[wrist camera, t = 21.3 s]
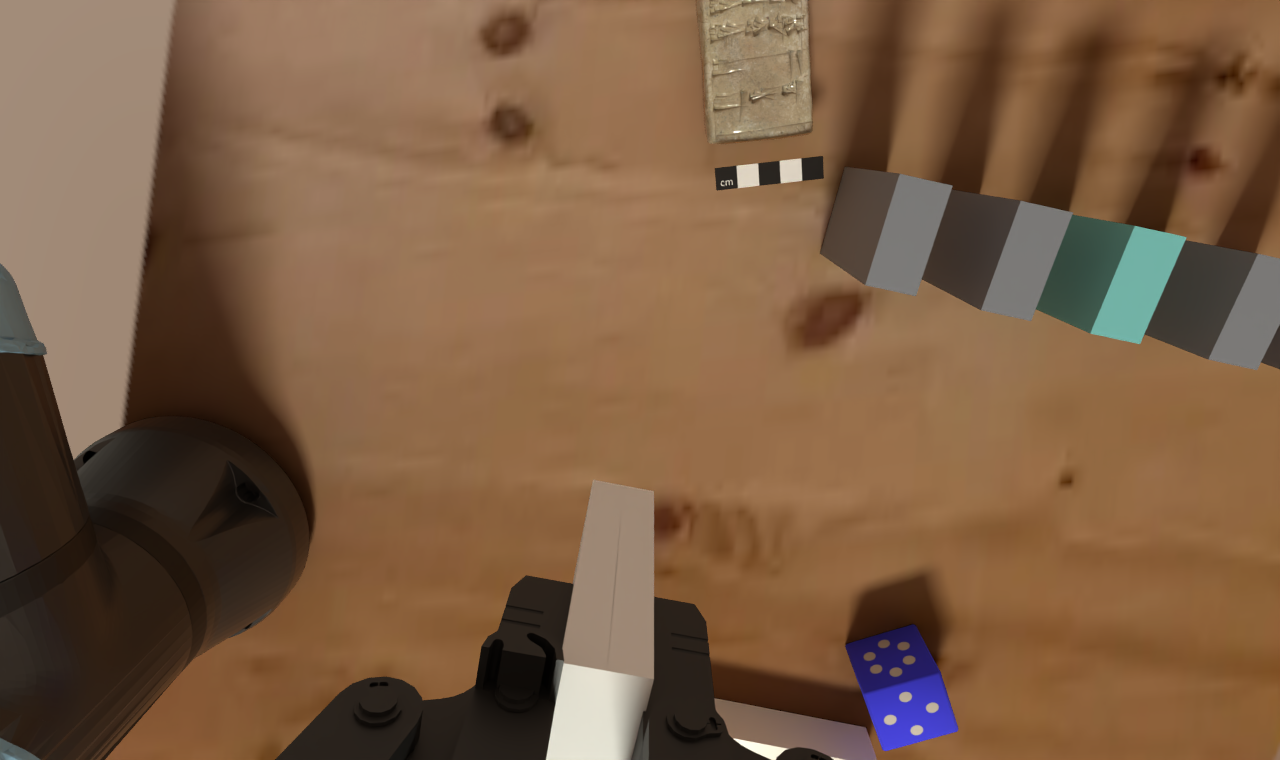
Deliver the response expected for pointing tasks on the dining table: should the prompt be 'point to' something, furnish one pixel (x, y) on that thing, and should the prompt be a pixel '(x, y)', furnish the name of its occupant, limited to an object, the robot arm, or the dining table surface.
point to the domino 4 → (1220, 304)
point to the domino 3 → (1109, 277)
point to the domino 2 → (995, 252)
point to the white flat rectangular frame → (792, 732)
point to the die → (901, 687)
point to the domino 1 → (884, 227)
